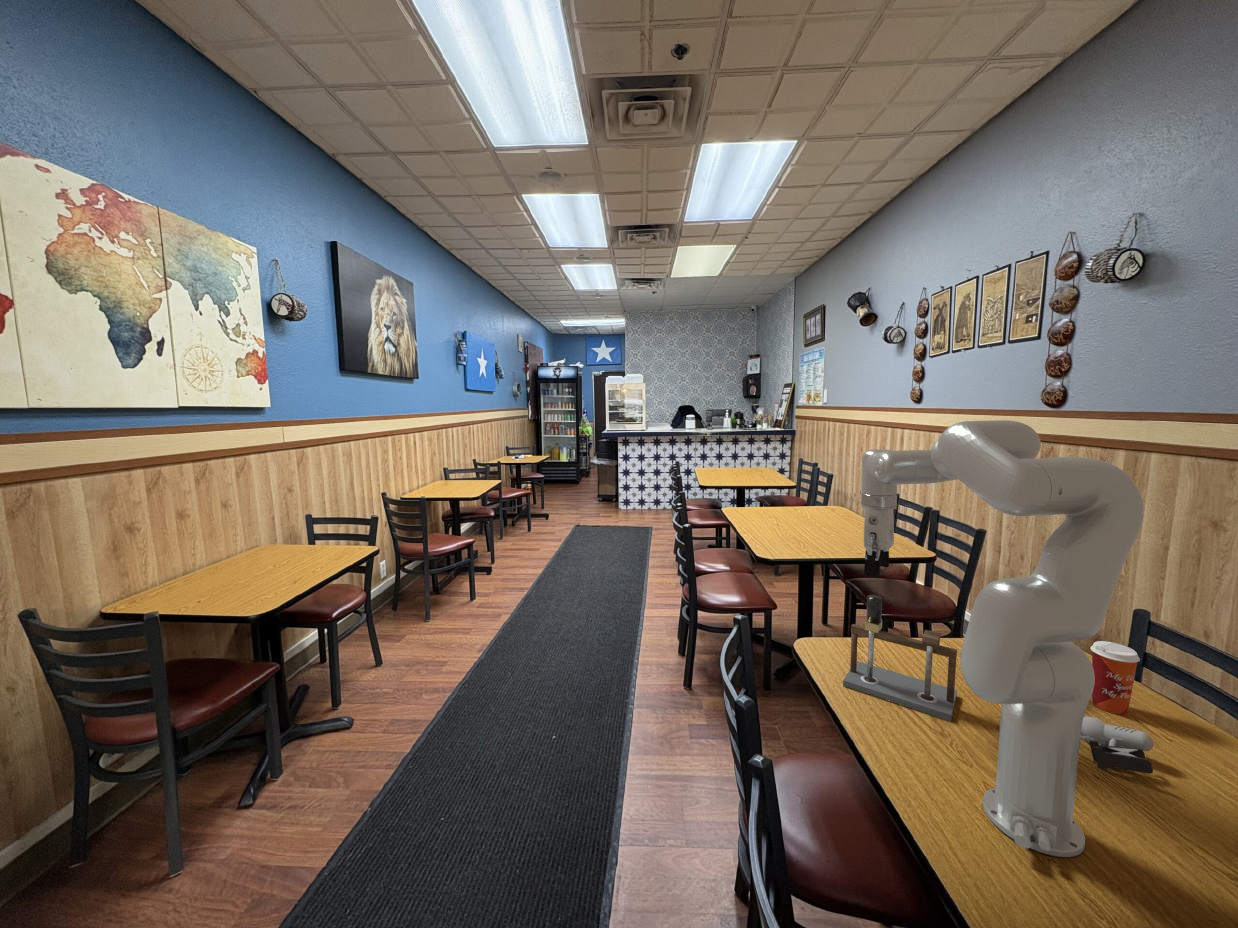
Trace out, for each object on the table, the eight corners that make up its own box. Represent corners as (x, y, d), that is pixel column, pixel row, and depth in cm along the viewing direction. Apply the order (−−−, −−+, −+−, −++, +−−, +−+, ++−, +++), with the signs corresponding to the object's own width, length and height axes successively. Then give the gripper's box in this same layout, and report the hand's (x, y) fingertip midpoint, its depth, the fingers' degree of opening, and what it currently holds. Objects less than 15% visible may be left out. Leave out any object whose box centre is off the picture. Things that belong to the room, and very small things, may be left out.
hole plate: (950, 721, 104) (951, 714, 104) (843, 685, 118) (843, 679, 118) (956, 696, 113) (957, 689, 113) (855, 665, 127) (856, 660, 127)
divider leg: (876, 681, 116) (879, 601, 114) (862, 676, 119) (865, 598, 116) (880, 673, 120) (883, 596, 118) (866, 669, 122) (869, 593, 120)
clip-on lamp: (1025, 753, 99) (1155, 785, 85) (1018, 722, 99) (1146, 750, 85) (1037, 723, 106) (1158, 749, 92) (1031, 695, 106) (1150, 716, 92)
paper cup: (1111, 718, 104) (1116, 657, 103) (1076, 697, 112) (1081, 640, 110) (1145, 717, 104) (1151, 655, 103) (1108, 696, 112) (1114, 639, 111)
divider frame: (952, 706, 107) (956, 644, 105) (847, 674, 121) (849, 618, 119) (954, 697, 110) (958, 637, 109) (852, 666, 124) (854, 613, 123)
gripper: (888, 508, 106) (886, 583, 107) (903, 497, 119) (901, 565, 120) (852, 504, 111) (850, 577, 112) (870, 495, 124) (868, 560, 125)
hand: (876, 571), depth 116 cm, fingers open, 9 cm apart
